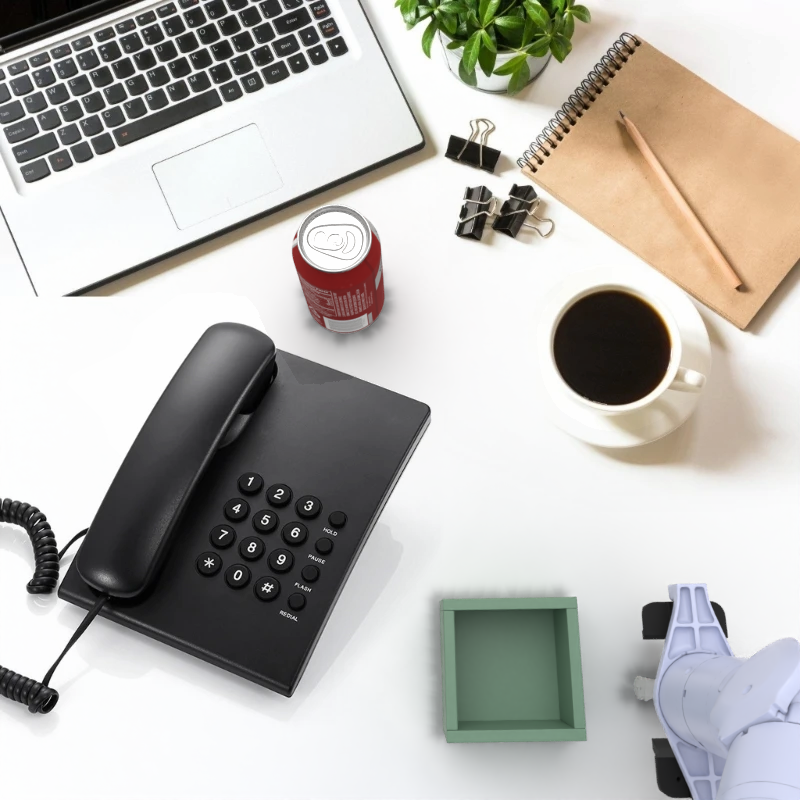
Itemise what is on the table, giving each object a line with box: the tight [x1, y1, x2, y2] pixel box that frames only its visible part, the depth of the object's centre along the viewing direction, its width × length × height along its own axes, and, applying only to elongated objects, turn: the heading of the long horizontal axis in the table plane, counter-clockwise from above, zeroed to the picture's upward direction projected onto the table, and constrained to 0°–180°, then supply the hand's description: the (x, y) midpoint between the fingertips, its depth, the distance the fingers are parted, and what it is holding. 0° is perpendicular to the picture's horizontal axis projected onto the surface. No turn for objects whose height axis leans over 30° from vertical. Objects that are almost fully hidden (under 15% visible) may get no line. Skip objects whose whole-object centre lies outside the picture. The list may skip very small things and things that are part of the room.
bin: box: [439, 596, 588, 744], centre depth 59 cm, size 10×10×6 cm
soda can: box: [291, 203, 386, 335], centre depth 65 cm, size 7×7×12 cm
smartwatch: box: [633, 675, 656, 702], centre depth 60 cm, size 4×2×4 cm, turn 87°
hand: (660, 687), depth 60 cm, fingers open, 7 cm apart
